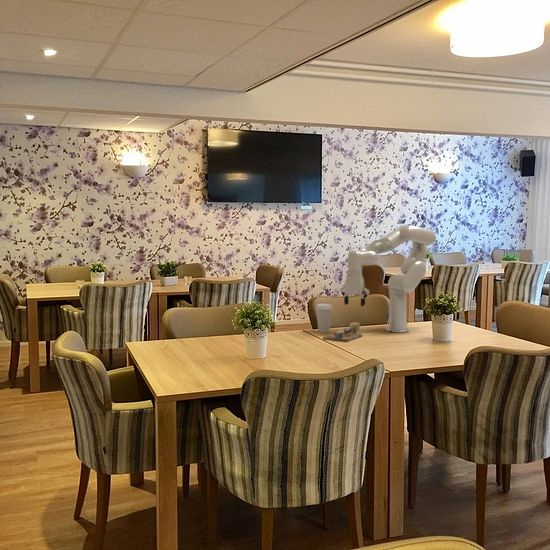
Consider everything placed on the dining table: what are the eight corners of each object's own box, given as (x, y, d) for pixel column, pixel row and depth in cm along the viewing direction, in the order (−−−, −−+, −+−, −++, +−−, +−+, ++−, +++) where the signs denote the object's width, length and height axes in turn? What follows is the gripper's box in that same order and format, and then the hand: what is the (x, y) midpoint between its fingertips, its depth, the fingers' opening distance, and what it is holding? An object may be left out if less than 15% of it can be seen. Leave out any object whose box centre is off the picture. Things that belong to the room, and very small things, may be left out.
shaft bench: (338, 334, 341) (339, 325, 341) (362, 336, 333) (362, 328, 333) (322, 339, 326) (322, 330, 326) (346, 342, 318) (347, 333, 318)
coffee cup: (312, 330, 352) (312, 304, 350) (327, 329, 356) (327, 303, 354) (320, 333, 343) (320, 306, 342) (335, 332, 347) (335, 305, 346)
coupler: (352, 333, 344) (352, 322, 344) (360, 333, 342) (360, 323, 341) (349, 334, 341) (349, 323, 340) (356, 335, 338) (356, 324, 338)
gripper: (337, 273, 340) (337, 304, 341) (366, 275, 331) (366, 307, 332) (343, 272, 346) (343, 303, 348) (372, 274, 337) (372, 305, 338)
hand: (354, 305), depth 340 cm, fingers open, 9 cm apart
